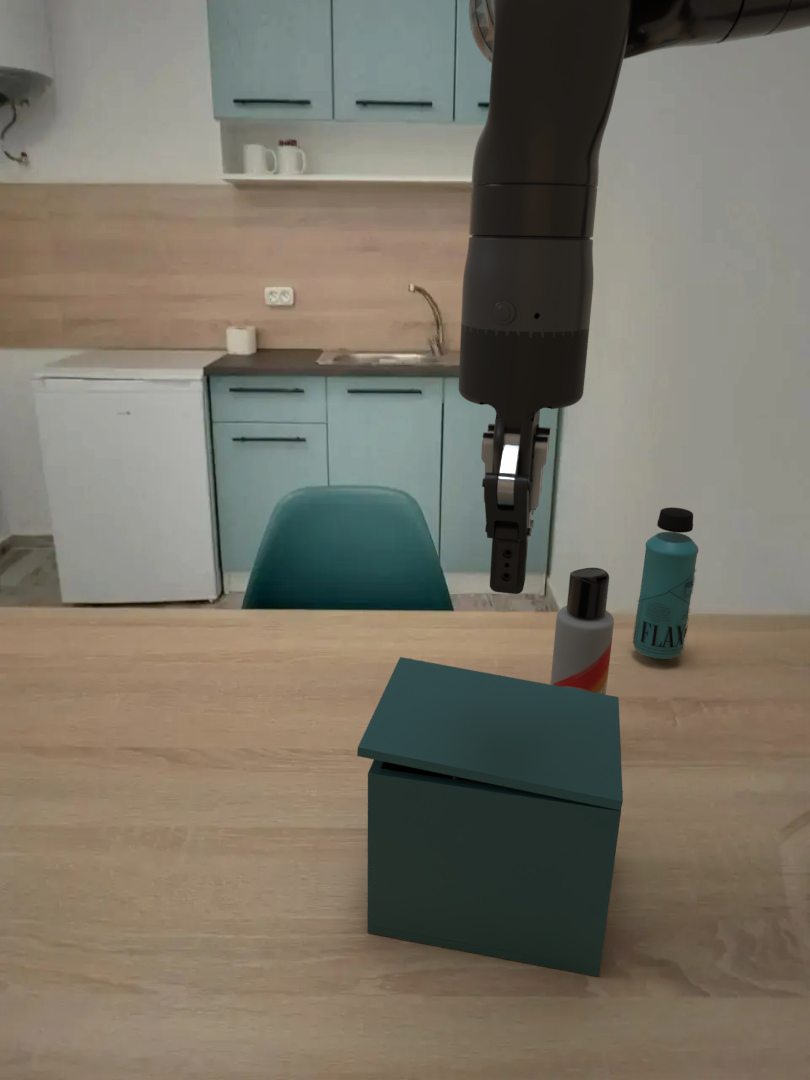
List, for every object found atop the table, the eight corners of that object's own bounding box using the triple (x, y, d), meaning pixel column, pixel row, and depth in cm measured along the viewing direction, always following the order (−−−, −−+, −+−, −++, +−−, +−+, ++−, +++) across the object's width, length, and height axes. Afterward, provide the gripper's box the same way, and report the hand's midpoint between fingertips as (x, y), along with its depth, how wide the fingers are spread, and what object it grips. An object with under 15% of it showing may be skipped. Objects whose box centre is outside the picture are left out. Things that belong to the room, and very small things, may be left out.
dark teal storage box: (367, 933, 64) (367, 773, 59) (404, 819, 77) (407, 679, 71) (599, 977, 61) (621, 811, 56) (599, 850, 73) (617, 705, 68)
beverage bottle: (628, 665, 105) (647, 515, 98) (632, 642, 111) (650, 499, 104) (682, 674, 103) (705, 522, 96) (683, 650, 109) (705, 505, 102)
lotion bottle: (573, 765, 85) (592, 586, 78) (534, 739, 89) (548, 567, 82) (610, 746, 88) (632, 573, 81) (571, 722, 92) (588, 555, 85)
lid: (356, 756, 59) (357, 746, 58) (399, 664, 71) (399, 656, 71) (620, 810, 56) (623, 801, 55) (616, 705, 68) (618, 696, 68)
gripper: (588, 334, 42) (560, 640, 48) (590, 312, 54) (568, 558, 60) (442, 328, 44) (433, 625, 50) (476, 307, 56) (465, 548, 62)
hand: (507, 588), depth 55 cm, fingers closed
